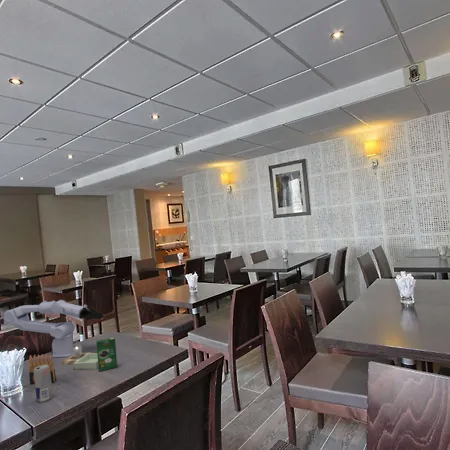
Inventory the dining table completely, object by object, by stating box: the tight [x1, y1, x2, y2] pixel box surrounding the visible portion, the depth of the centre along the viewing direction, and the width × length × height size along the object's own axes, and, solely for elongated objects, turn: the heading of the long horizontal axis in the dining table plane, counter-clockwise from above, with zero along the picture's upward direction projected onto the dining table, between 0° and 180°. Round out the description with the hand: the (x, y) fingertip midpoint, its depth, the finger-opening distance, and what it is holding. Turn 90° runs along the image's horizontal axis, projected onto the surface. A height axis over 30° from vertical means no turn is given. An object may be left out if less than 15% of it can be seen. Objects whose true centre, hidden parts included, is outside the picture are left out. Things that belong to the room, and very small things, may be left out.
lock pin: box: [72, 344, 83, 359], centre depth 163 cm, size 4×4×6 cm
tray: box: [72, 352, 99, 371], centre depth 155 cm, size 11×11×3 cm
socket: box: [61, 352, 94, 365], centre depth 163 cm, size 10×10×2 cm
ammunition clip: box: [28, 353, 57, 386], centre depth 141 cm, size 11×2×12 cm, turn 84°
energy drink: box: [34, 364, 54, 403], centre depth 126 cm, size 5×5×12 cm
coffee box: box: [96, 336, 118, 372], centre depth 148 cm, size 8×3×13 cm, turn 110°
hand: (99, 316), depth 170 cm, fingers open, 7 cm apart
